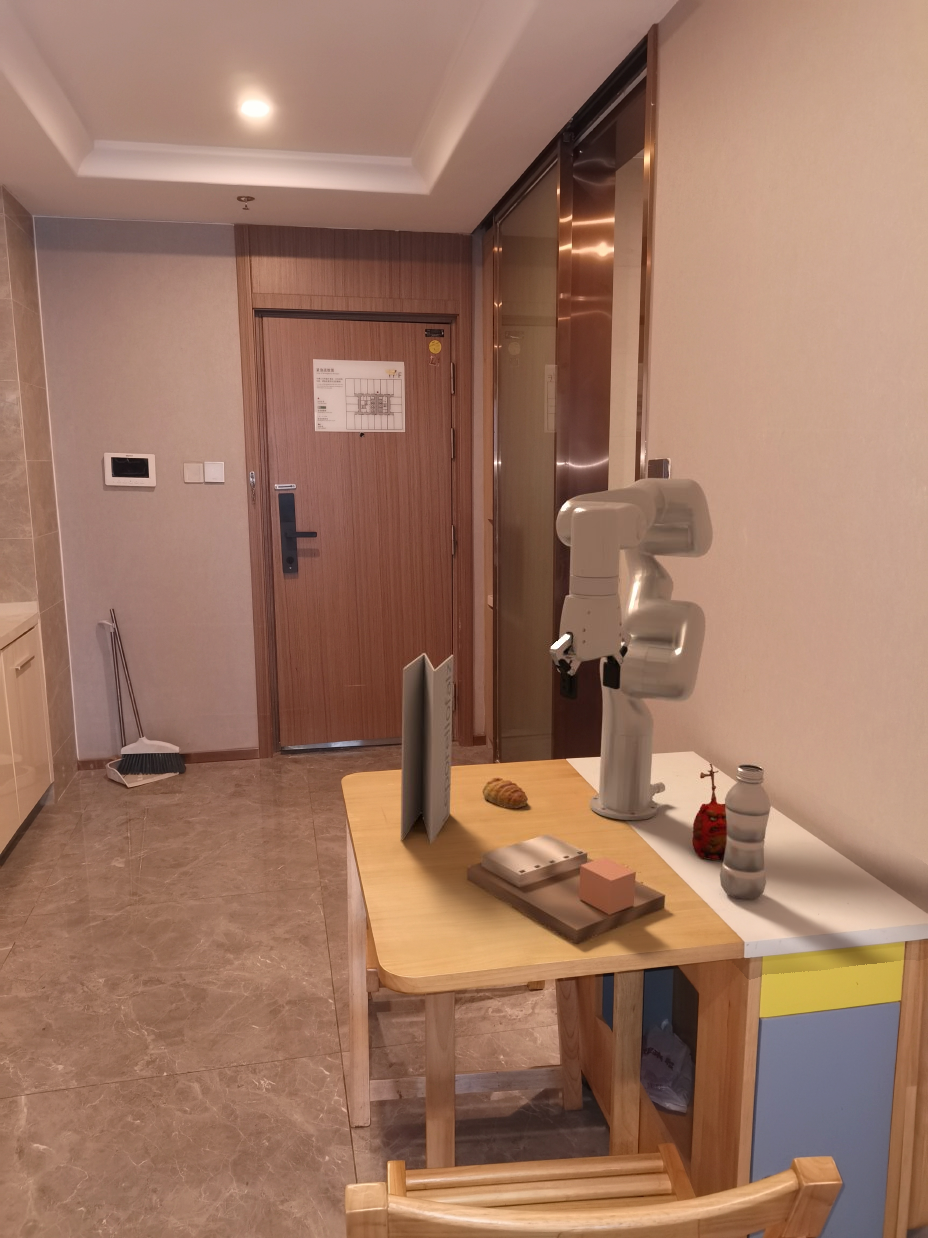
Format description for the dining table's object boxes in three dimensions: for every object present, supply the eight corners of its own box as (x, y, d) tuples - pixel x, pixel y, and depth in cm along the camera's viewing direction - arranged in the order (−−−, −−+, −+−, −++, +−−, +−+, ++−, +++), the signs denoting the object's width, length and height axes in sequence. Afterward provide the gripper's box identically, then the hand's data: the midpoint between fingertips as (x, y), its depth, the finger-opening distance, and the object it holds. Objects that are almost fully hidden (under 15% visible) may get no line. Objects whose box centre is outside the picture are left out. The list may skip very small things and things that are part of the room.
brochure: (431, 843, 153) (435, 671, 148) (400, 840, 154) (402, 668, 149) (449, 813, 167) (453, 655, 162) (421, 811, 168) (423, 653, 163)
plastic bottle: (758, 909, 132) (768, 778, 129) (712, 897, 136) (721, 769, 132) (769, 892, 137) (779, 766, 134) (725, 881, 141) (734, 758, 138)
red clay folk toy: (700, 864, 147) (706, 776, 145) (683, 846, 154) (689, 762, 152) (744, 862, 148) (750, 774, 146) (725, 845, 155) (731, 761, 153)
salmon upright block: (603, 889, 132) (604, 857, 132) (633, 905, 128) (635, 871, 127) (578, 898, 129) (580, 865, 129) (609, 914, 125) (611, 880, 124)
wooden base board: (552, 852, 150) (553, 829, 150) (664, 908, 132) (665, 881, 131) (467, 879, 140) (467, 854, 139) (576, 944, 121) (577, 915, 120)
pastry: (536, 806, 172) (536, 786, 172) (509, 813, 168) (510, 794, 168) (504, 792, 180) (504, 773, 179) (478, 799, 176) (478, 780, 175)
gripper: (613, 578, 148) (609, 679, 151) (536, 588, 137) (534, 696, 141) (649, 584, 142) (644, 688, 145) (571, 595, 132) (568, 707, 135)
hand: (590, 692), depth 143 cm, fingers open, 9 cm apart
